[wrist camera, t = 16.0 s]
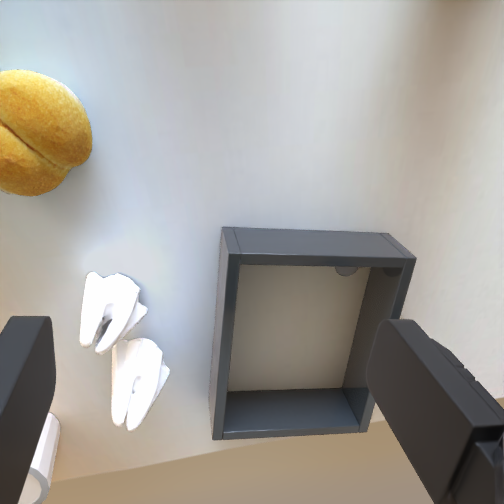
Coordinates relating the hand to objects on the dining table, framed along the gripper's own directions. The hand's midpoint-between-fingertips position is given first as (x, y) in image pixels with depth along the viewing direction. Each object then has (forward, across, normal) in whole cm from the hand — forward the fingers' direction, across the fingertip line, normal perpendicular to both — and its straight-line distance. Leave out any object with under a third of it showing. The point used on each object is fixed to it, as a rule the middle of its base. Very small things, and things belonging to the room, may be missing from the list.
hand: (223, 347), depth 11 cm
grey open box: (+26, -12, +17) cm, 34 cm away
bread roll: (+27, +12, +1) cm, 30 cm away
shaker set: (+27, +4, +18) cm, 32 cm away
